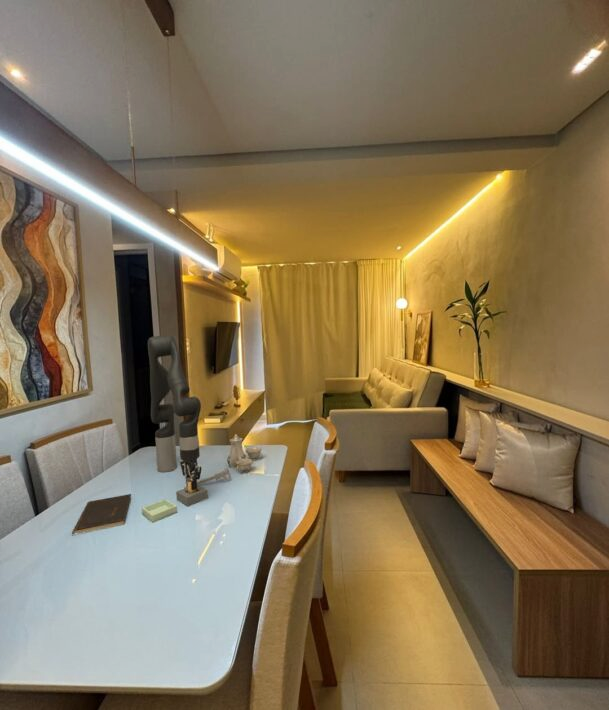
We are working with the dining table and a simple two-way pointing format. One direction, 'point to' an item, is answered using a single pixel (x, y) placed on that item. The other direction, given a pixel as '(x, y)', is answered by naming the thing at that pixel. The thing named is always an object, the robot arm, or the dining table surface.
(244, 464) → the chinaware
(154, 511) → the parts tray
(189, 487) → the fuse
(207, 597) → the dining table surface
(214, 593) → the dining table surface
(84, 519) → the hardcover book
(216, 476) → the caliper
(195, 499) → the socket block
